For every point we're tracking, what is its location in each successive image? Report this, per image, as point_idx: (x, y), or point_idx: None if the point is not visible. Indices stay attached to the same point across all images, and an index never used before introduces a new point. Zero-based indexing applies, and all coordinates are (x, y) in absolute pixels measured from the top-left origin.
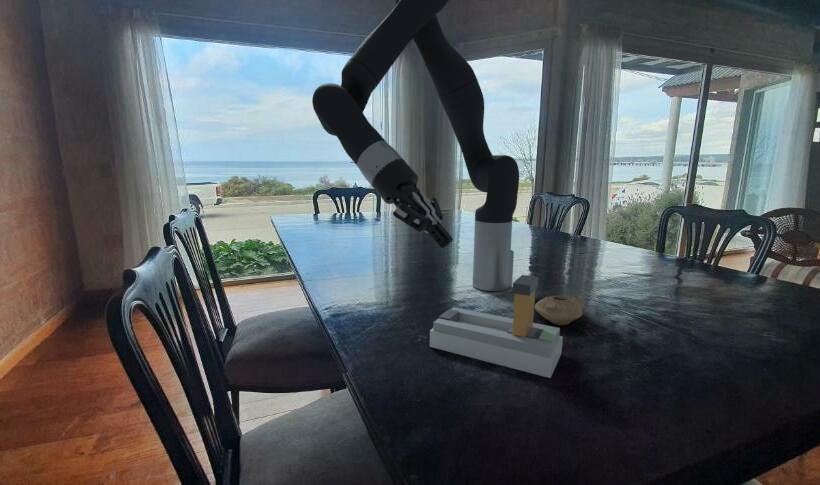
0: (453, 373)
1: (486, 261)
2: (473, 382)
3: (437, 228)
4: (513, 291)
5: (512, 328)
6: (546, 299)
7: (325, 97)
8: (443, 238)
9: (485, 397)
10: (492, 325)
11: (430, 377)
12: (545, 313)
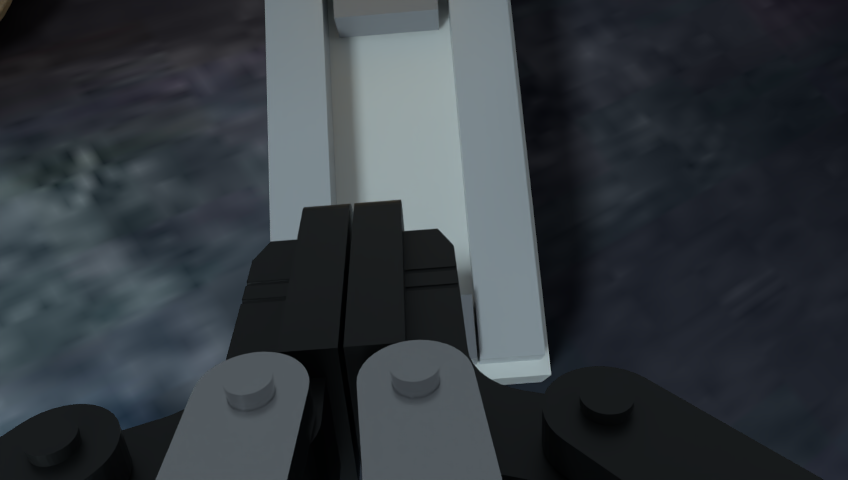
0: (678, 180)
1: None
2: (686, 94)
3: (407, 336)
4: None
5: (390, 3)
6: None
7: None
8: (446, 245)
9: (743, 25)
10: (332, 134)
11: (762, 237)
12: (2, 7)
